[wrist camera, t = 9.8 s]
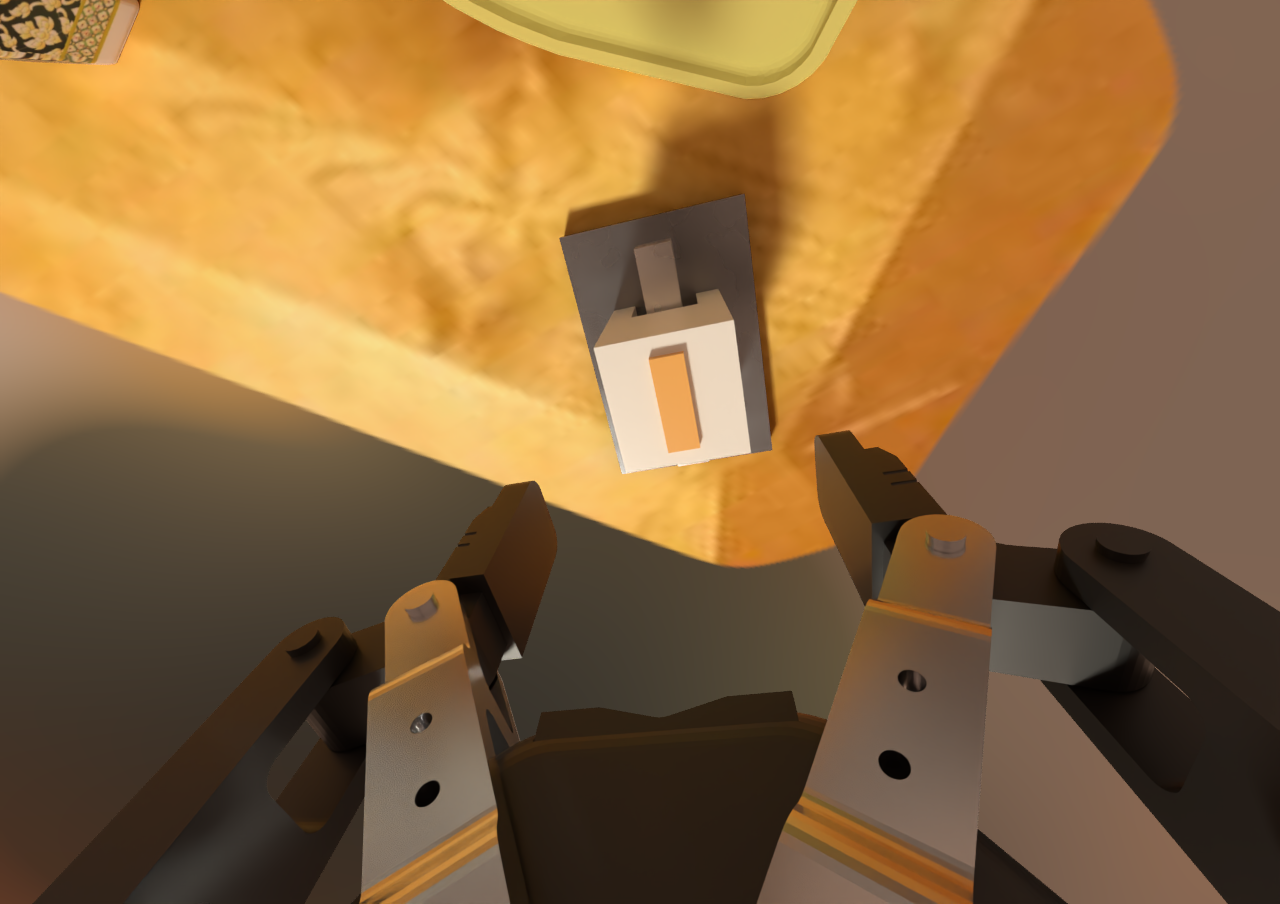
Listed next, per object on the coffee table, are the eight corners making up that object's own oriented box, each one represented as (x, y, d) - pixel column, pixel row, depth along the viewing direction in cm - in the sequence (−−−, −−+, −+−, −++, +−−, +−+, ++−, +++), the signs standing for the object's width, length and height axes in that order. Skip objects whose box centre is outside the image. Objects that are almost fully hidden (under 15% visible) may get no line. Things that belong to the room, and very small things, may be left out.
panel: (563, 236, 22) (548, 241, 20) (741, 194, 21) (751, 192, 18) (623, 465, 27) (618, 493, 25) (768, 441, 26) (779, 468, 24)
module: (614, 310, 23) (592, 350, 17) (718, 288, 22) (734, 321, 16) (637, 409, 25) (625, 476, 19) (732, 392, 24) (752, 456, 18)
